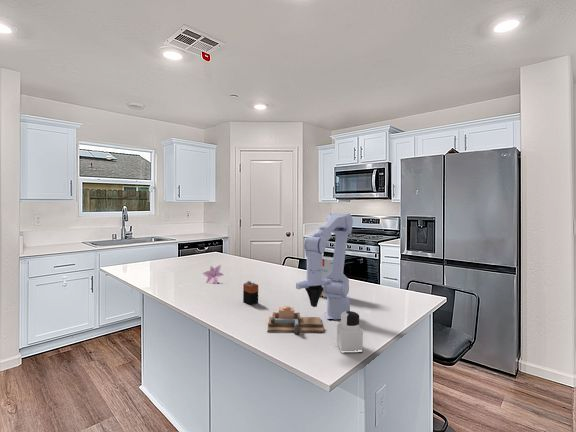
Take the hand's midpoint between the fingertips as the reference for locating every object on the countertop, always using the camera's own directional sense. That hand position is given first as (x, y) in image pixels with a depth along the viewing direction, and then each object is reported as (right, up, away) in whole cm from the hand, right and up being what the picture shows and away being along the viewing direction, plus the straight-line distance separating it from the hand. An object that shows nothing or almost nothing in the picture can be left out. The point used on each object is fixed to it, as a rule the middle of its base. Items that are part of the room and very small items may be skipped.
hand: (313, 306), depth 119 cm
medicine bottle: (+11, -11, -11) cm, 19 cm away
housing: (-7, -10, +9) cm, 15 cm away
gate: (-10, -10, +3) cm, 14 cm away
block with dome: (-10, -9, +11) cm, 17 cm away
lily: (-54, -7, +76) cm, 94 cm away
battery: (-27, -9, +37) cm, 47 cm away
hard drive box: (+10, -9, +51) cm, 53 cm away
